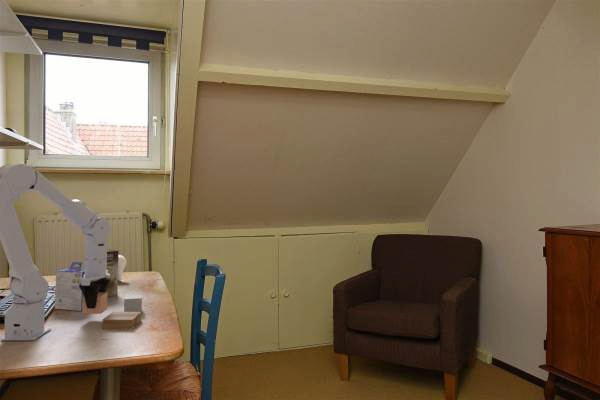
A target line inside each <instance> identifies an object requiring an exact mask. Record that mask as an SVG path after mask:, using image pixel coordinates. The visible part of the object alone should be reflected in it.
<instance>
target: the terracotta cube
mask: <svg viewBox="0 0 600 400" xmlns="http://www.w3.org/2000/svg"><path fill="white" fill-rule="evenodd" d="M107 310H108V297H107V293H106V292H98V296H97V303H96V307H95V308H94V309H91V308H87V306H86V302H85V298H84V296H83V310H82V314H84V315H85V314H89V315H95V314H96V315H101V314H103V313H104V312H105V311H107Z"/></svg>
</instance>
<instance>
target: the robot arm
mask: <svg viewBox="0 0 600 400" xmlns="http://www.w3.org/2000/svg"><path fill="white" fill-rule="evenodd" d="M25 191H31V192H32V191H33V192H37V193H39V194H40V195H41V196H42V197H44V198H46V199H47V200H49V201H50V202H52V203H53V204H54V205H56V206H58V207H59V208H61V210H62V216H63V217H65V218H66V219H67V220H68V221H70V222H71V223H72V224H74V225H76V226H77V227H78V228H80V229H81V233H82V234H83V235H85V241H84V242H85V244H84V245H85V246H84V249H85V250H84V270H85V274H84V277H83V278H82V283H80V284H79V288H80V289H81V291H82V293H83V295H84V298H85V302H86V306H87V308H91V309H94V308H95V307H96V303H97V296H98V292H106V289H107V287H108V285H109V283H110V281H111V279H110V278H105V277H110V275H111V274H108V270H106V265H107V250H108V237H109V235H110V234H111V232H112V229H113V228H112V227H111V225H110V223H109V221H108V220H107V219H106V218H104V217H99V212H97V211H93V210H92V209H91V208H89V207H88V206H87V202H86V201H84V200H79V199H71V198H69V197H68V196H67V195H66V194H65V193H64V192H62V191H61V190H60V189H59V188H58V187H56V185H54V184H53V183H52V182H51V181H50V180H48V178H46V177H45V176H44V175H43V174H42V173H41V172H40V171H38V170H35V169H34V168H33V167H32V166H30V165H28V164H26V163H16V164H4V165H2V166H0V243H1V246H2V248H3V251H4V253H5V256H6V257H5V258H6V260H7V261H8V265H9V271H8V275H9V283H8V287H9V290H10V292H11V294H13V297H12V303H11V306H10V307H9V308H8V309H7V311H6V312H5V315H4V336H3V337H1V338H0V341H34V340H36V339H38V338H39V337H41V336H43V335H44V334H46V333H48V332H49V331H51V330H52V327H45V304H46V303H45V299H46V298H45V297H46V295H47V294H48V292H49V289H50V286H49V283H48V282H49V281H48V280H47V279H45V278H44V277H43V276H42V274H41V272H40V271H41V270H40V269H39V268H38V266H37V265H36V264H35V263H34V261H33V258H32V255H31V252H30V249H29V247H28V244H27V241H26V238H25V234H24V231H23V228H22V226H21V223H20V220H19V216H18V214H17V211H16V208H15V206H14V205H15V202H17V200H18V198H19V197H20V196H21V194H23V193H25Z"/></svg>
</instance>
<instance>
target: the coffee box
mask: <svg viewBox="0 0 600 400" xmlns="http://www.w3.org/2000/svg"><path fill="white" fill-rule="evenodd" d="M119 251H120V250H115V249H107V265H106V270H108V274H111V275H110V277H105V278H110V279H111V281H110V283H109V285H108V287H107V289H106V293H107V298H108V297H113V296H117V295H119V293H118V290H119V289H118V288H119V287H118V286H119V284H118V283H119V282H118V255H119V253H120V252H119Z"/></svg>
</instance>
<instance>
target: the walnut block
mask: <svg viewBox="0 0 600 400" xmlns="http://www.w3.org/2000/svg"><path fill="white" fill-rule="evenodd" d="M140 322H142V314H141V312H124V311H112V312H111V313H109V314H108V315H107V316H105V317H104V318H102V330H130V329H129V328H133V327H134V328H136V326H137V325H139V323H140ZM125 328H127V329H125ZM134 328H133V329H134Z"/></svg>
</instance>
